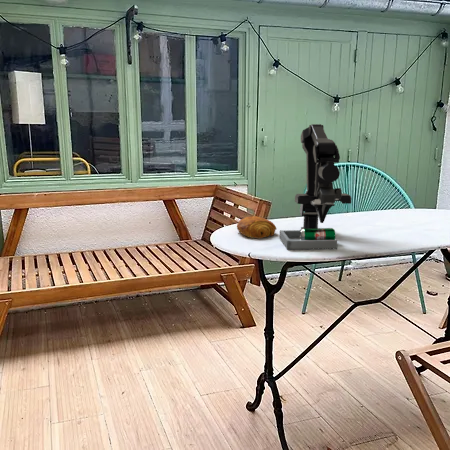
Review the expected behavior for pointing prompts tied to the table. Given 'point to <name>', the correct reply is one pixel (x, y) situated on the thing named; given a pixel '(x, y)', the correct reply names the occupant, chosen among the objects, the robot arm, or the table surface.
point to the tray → (304, 242)
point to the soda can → (317, 234)
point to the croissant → (256, 227)
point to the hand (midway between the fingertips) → (321, 222)
